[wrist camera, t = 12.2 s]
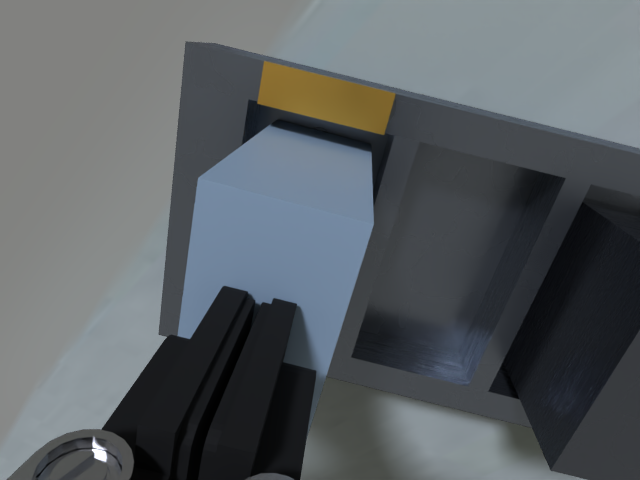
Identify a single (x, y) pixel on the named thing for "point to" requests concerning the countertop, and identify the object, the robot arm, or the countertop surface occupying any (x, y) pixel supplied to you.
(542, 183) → the rack
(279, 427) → the robot arm
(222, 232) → the light blue block
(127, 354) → the countertop surface
